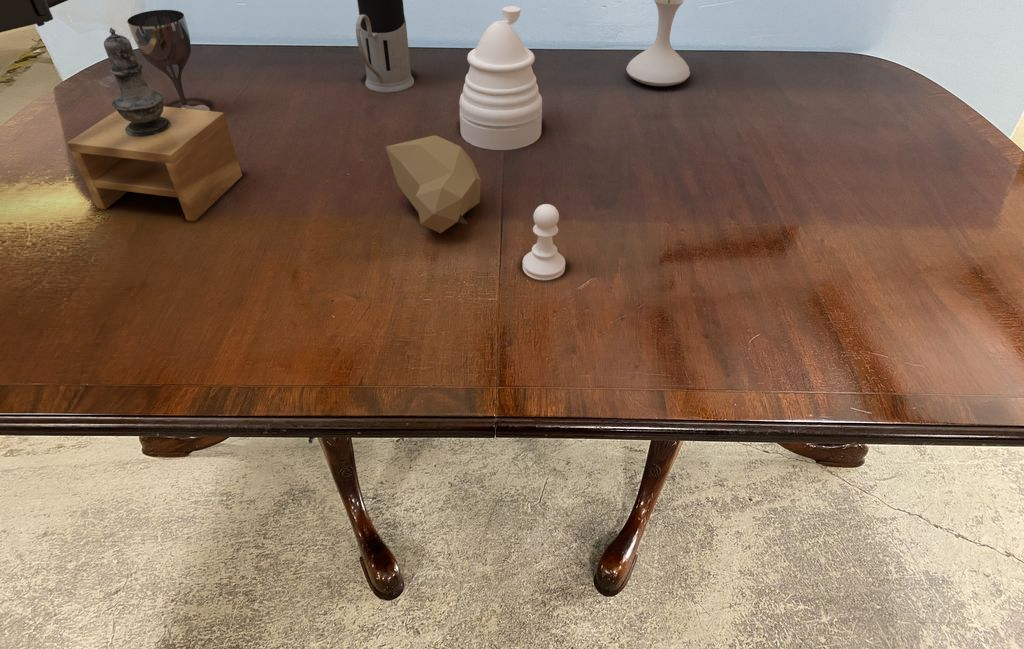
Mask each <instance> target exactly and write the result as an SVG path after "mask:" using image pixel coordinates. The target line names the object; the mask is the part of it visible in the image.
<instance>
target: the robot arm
mask: <svg viewBox="0 0 1024 649" xmlns="http://www.w3.org/2000/svg"><path fill="white" fill-rule="evenodd" d="M68 1H69V0H0V34H1V33H5V32H8V31H12V30H13V31H14V30H16V29H22V28H26V27H29V26H34V25H37V27H38V28H39V27H43V26H44V25H45V23H48V22H50V21H53V20H54V16H53V14H52V12H51V10H50V9H51V8H54V7H56V6H58V5H61V4H63V3H65V2H68Z"/></svg>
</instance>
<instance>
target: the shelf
mask: <svg viewBox="0 0 1024 649" xmlns="http://www.w3.org/2000/svg"><path fill="white" fill-rule="evenodd" d="M160 117H163V118H166V119H168V120H169V121H170V122H171V125H170V127H169V128H168V129H167V130H165V131H163V132H161V133H158V134H155V135H150V136H131V135H129V134H127V133H126V131H125V128H126V127H127V125H129V123H131V122H130V121H128V120H126V119H124V118H123V117H122V116H121V115H120V114H119V112H118V111H117V110H116V111H114V112H112V113H110V114H109V115H108V116H106V117H104V118H103V119H101V120H100V121H98V122H97V123H95V124H93V125H92V126H91V127H89V128H88V129H86V130H84V131H83V132H81V133H80V134H78V135H76V136H75V137H74V138H72V139H70V140H68V141H67V142H66V144H67V146H68V148H69V151H70V152H71V154H72V157H73V159H74V161H75V163H76V165H77V168H78V170H79V172H80V174H81V176H82V178H83V180H84V182H85V184H86V186H87V189H88V191H89V193H90V195H91V197H92V199H93V201H94V203H95V206H96V208H97V209H100V210H107V209H108V208H109V207H111V206H112V205H113V204H114V203H115V202H117V201H118V200H119V199H121V198H122V197H124V195H125V194H127V193H129V192H130V193H138V194H146V195H152V196H153V195H154V196H160V197H161V196H162V197H163V196H164V197H168V198H169V197H170V198H178V201H179V204H180V206H181V209H182V212H183V214H184V217H185V220H186V221H189V222H196V221H197V220H198V219H199V218H200V217H201V216H202V215H203V214H204V213H205V212H206V211H207V210H208V209H210V207H211V206H212V205H213V204H215V202H216V201H218V200H219V199H220V198H221V197H222V196H223V195H224V194H225V193H226V192H227V191H228V190H229V189H230V188H231V187H232V186H233V185H234V184H235V183H236V182H237V181H238V180H240V178H241V177H243V174H242V170H241V167H240V163H239V160H238V156H237V153H236V149H235V146H234V142H233V139H232V136H231V132H230V129H229V126H228V122H227V118H226V115H225V112H221V111H212V110H210V111H204V110H194V109H184V108H175V107H173V106H165V105H164V108H163V112H162V114H161V115H160Z"/></svg>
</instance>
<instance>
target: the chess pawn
mask: <svg viewBox="0 0 1024 649" xmlns="http://www.w3.org/2000/svg"><path fill="white" fill-rule="evenodd" d="M532 217H533V218H532V219H533V222H534V226H533V227H532V232H533V233H534V234H535V235H536V236H537V240H536V243H534V244H533V245H532V247H531V251H529V252H528V253H526V254H525V255H524V257H523V258H522V261H521V262H522V270H523V272H524V273H525V274H526V276H528V277H530V278H531V279H534V280H538V281H550V280H551V281H552V280H555V279H558V278H559V277H561V276H562V275H563V274H564V273H565V270H566V264H567V263H566V259H565V257H564V256H563V255H562V254H561V253H559V252H558V247H557V245H555V244H554V241H553V237H554V236H556V235H557V234H558V233H559V228H558V226H557V225H558V224H559V220H560V214H559V211H558V209H557V208H556V207H555V205H553V204H549V203H543V204H540V205H538V206H537V207H536V209H535V210H534V212H533V215H532Z"/></svg>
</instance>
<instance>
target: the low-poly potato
mask: <svg viewBox="0 0 1024 649" xmlns="http://www.w3.org/2000/svg"><path fill="white" fill-rule="evenodd" d="M385 149H386V153H387V156H388V159H389V162H390V165H391V170H392V172H393V175H394V178H395V182H396V185H397V186H398V187H399V188H400V190H401V191H402V193H403V194H404V195H405V197H406V198H407V199H408V201H409V202H410V204H411V205H412V206H413V207H414V209H415V210H416V212H417V213H418V217H419V224H420V225H421V226H423V227H425V228H427V229H430V230H431V231H435V232H437V233H439V234H442V233H443V232H445V231H446V230H448V229H449V228H451V227H452V226H454V225H455V224H462V225H469V223H468V222H467V221H466V219H465V218H464V217H463V216H464V215H465V214H467V212H469V211H470V210H472V209H473V208H475V207H476V206H477V205H478V204H480V203H481V189H482V188H481V186H482V180H481V177H480V175H479V172H478V170H477V168H476V165H475V163H474V162H473V159H472V158H471V157H470V156H469V155H468V153H467V152H466V150H464V149H463V147H462V146H461V145H459V144H456V143H454V142H452V141H450V140H447V139H445V138H442V137H441V136H438V135H436V134H434V135H429V136H426V137H425V136H424V137H421V138H417V139H412V140H409V141H403V142H399V143H395V144H391V145H387V146H385Z"/></svg>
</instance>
